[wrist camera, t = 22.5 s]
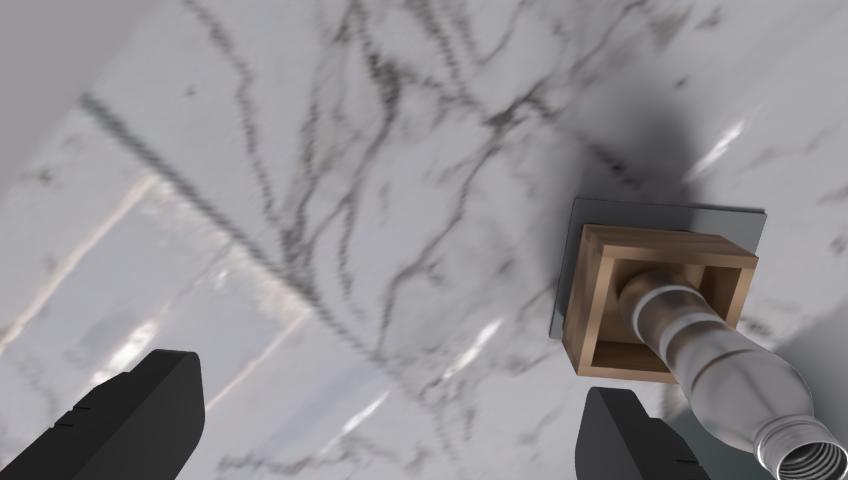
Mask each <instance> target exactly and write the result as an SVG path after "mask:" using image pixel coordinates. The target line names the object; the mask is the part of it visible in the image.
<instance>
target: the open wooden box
mask: <svg viewBox="0 0 848 480" xmlns="http://www.w3.org/2000/svg"><path fill="white" fill-rule="evenodd" d="M579 238H580V239H581V243H580V248H579V253H578V258H577V263H576V269H575V274H574V279H573V284H572V289H571V295H570V300H569V305H568V310H567V314H565V315H564V319H563V325H562V330H563V336H562V343H563V346H564V348H565V350H566V352H567V355H568V357H569V359H570V361H571V363H572V366H573V368H574V370H575V372H576V374H577V376H589V377H601V378H613V379H625V380H637V381H649V382H660V383H672V384H679V383H678V382H677V380H676V379H675V377H674V376H673V374H672V373H671V372H670V370H669V368H668V367H667V366H666V364H665V363H664V361H663V360H662V359H661V358H660V357H659V356H658V355H657V354H656V353H655V352H654V351H653V350H652V349H651V348H650V347H649V346H648V345H646V344H645V343H643V342H642V341H641V340H639V339H638V338H637V337H636V336H635V335H634V334H633V333H631V332H630V331H629V329H628V328H627V327H626V325H625V323H624V321H623V319H622V316H621V314H620V310H619V297H620V294H621V292H622V290H623V288H624V287H625V285H626V284H627V283H628V282H629V281H630V280H631V279H632V278H634V277H635V276H637V275H639V274H641V273H643V272H646V271H651V270H667V271H670V272H673V273H675V274H677V275H679V276H682V277H684V278H685V279H687V280H689V281H690V282H691V283H692V284H693V285H694V286H695V287H696V288H697V289H698V291H699V292H700V293H701V294H702V296H703V297H704V299H705V300H706V302H707V304H708V305H709V306H710V307H711V308H712V309H713V310H714V311H715V312H716V313H717V314H718V315H719V316H720V317H721V319H722V320H723V321H725V322H726V323H728V324H729V325H730V326H731V327H733V328H734V329H736V326H737V323H738V320H739V317H740V314H741V311H742V308H743V305H744V302H745V299H746V296H747V293H748V289H749V286H750V283H751V280H752V277H753V274H754V271H755V268H756V265H757V262H758V259H759V257H757V256H755V255H754V254H752V253H750V252H748V251H747V250H745V249H743V248H741V247H740V246H738V245H736V244H734V243H733V242H731V241H729V240H727V239H726V238H724V237H722V236H720V235H715V234H703V233H696V232H692V231H687V230H673V231H665V230H653V229H640V228H628V227H615V226H607V225H604V224H599V223H583V224H582V225H581V231H580V236H579Z"/></svg>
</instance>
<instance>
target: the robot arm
mask: <svg viewBox="0 0 848 480" xmlns="http://www.w3.org/2000/svg"><path fill="white" fill-rule="evenodd" d="M204 423H205V408H204V397H203V387H202V377H201V366H200V359H199V357H198V355H197V354H196V353H195V352H188V351H176V350H164V349H155V350H153V351H152V352H151V353H149V354H148V355H147V356H146V357H145V358H144V359H143V360H142V361H141V362H140V363H139V364H138V365H137V366H136V367H135V368H134V369H132V370H131V371H130V372H122V373H120V374H118V375H117V376H115V377H113V378H111V379H109V380H107V381H105V382H104V383H102V384H100V385H98V386H96V387H94V388H93V389H92V390H91V391H90V392H89V393H88V394H87V395H86V396H84V397H83V398H82V399H81V400H80V401H79V402H78V403H77V404H75V405H74V406H73V410H72V411H68V412H67V413H65V414H64V415H63V416H62V417H61V418H60V419H59V420H58V421H56V422H55V425H54V427H53V428H49V429H48V430H46V431H45V432H44V433H43V434H42V435H41V436H40V437H39V438H37V439H36V440H35V441H34V442H33V443H32V444H31V445H30V446H29V447H27V448H26V449H25V450H24V451H23V452H22V453H21V454H20V455H18V456H17V457H16V458H15V459H14V460H13V461H12V462H11V463H10V464H8V465H7V466H6V467H5V468H4V469H3V470H2V471H1V472H0V480H175V478H176V477H177V475H178V474H179V472H180V471H181V469H182V468H183V466H184V465H185V463H186V462H187V460H188V459H189V457H190V456H191V454H192V453H193V451H194V450H195V448H196V446H197V445H198V443H199V440H200V438H201V435H202V432H203V428H204ZM575 469H576V475H577V480H711V479H710V478H709V476H708V475H707V473H706V472H705V470H704V469H703V467H702V466H699V461H698V460H697V458H696V457H695V455H694V454H693V452H692V451H691V449H690V448H689V446H688V445H687V443H686V442H685V440H684V439H683V438H682V437H681V436H680V435H679V434H678V433H676V432H675V431H674V430H673V429H672V428H670V427H669V426H668V425H667V424H666V423H665V422H664V421H662V420H661V419H660V418H650V417H649V416H648V414H647V413H646V411H645V409H644V408H643V406H642V404H641V403H640V401H639V399H638V398H637V396H636V395H635V393H634V392H633V391H632V390H629V389H617V388H605V387H591V388H590V390H589V392H588V395H587V398H586V403H585V407H584V412H583V416H582V421H581V425H580V430H579V434H578V439H577V443H576V448H575Z"/></svg>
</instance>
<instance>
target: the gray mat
mask: <svg viewBox="0 0 848 480" xmlns="http://www.w3.org/2000/svg"><path fill="white" fill-rule="evenodd" d="M767 215H768V214H765V213H754V212H741V211H729V210H716V209H704V208H691V207H679V206H666V205H654V204H641V203H628V202H616V201H603V200H591V199H578V198H574V204H573V209H572V215H571V220H570V226H569V231H568V237H567V242H566V248H565V253H564V259H563V264H562V269H561V275H560V280H559V286H558V291H557V297H556V302H555V308H554V313H553V319H552V324H551V330H550V335H549V337H550V338H552V339H562V336H563V330H562V325H563V319H564V315H565V314H567V310H568V305H569V300H570V295H571V289H572V284H573V279H574V274H575V269H576V263H577V258H578V253H579V248H580V243H581V239H580V238H579V236H580V231H581V225H582V224H583V223H599V224H604V225H607V226H615V227H628V228H640V229H653V230H665V231H673V230H687V231H692V232H696V233H703V234H715V235H720V236H722V237H724V238H726V239H727V240H729V241H731V242H733V243H734V244H736V245H738V246H740V247H741V248H743V249H745V250H747V251H748V252H750V253H752V254H754V255H755V252H756V249H757V246H758V243H759V240H760V236H761V233H762V230H763V227H764V224H765V221H766V218H767Z"/></svg>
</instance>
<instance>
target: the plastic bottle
mask: <svg viewBox="0 0 848 480" xmlns="http://www.w3.org/2000/svg"><path fill="white" fill-rule="evenodd" d="M619 310H620V314H621V316H622V319H623V321H624V323H625V325H626V327H627V328H628V329H629V331H630V332H631V333H633V334H634V335H635V336H636V337H637V338H638V339H639V340H641V341H642V342H643V343H645V344H646V345H648V346H649V347H650V348H651V349H652V350H653V351H654V352H655V353H656V354H657V355H658V356H659V357H660V358H661V359H662V360H663V361H664V363H665V364H666V366H667V367H668V368H669V370H670V372H671V373H672V374H673V376H674V377H675V379H676V380H677V382H678V383H679V385H680V387H681V389H682V391H683V393H684V394H685V396H686V398H687V400H688V402H689V404H690V406H691V408H692V410H693V412H694V414H695V415H696V416H697V418H698V420H699V421H700V423H701V424H702V425H703V426H704V428H705V429H706V430H708V431H709V432H710V433H711V434H713V435H714V436H715V437H717V438H718V439H720V440H721V441H723V442H724V443H726V444H728V445H730V446H733V447H736V448H739V449H741V450H744V451H748V452H752V453H754V455H755V457H756V458H757V460H758V461H759V462H760V463H761V465H762V466H763V467H764V468H766V469H767V470H769V471H770V473H771V474H772V475H773V476H774V477H775V479H776V480H842V479H843V478H844V477H845V475H846V474H847V472H848V452H847V450H846V449H845V448H844V446H843V445H842V444H841V443H839V441H837V440H836V439H835V438H834V437H833V436H832V435H831V433H830V431H829V430H828V429H827V428H826V427H825V426H824V425H823V424H822V423H821V422H819V421H818V420H817V419H815V418H814V414H813V404H812V397H811V394H810V391H809V388H808V387H807V385H806V384H805V382H804V380H803V379H802V377H801V376H800V374H799V373H798V372H797V370H795V369H794V368H793V367H792V366H791V365H790V364H788V363H787V362H785V361H784V360H782V359H781V358H780V357H778V356H776V355H775V354H773V353H771V352H770V351H768V350H766V349H765V348H763V347H761V346H760V345H758V344H756V343H754V342H753V341H751V340H749V339H748V338H746V337H745V336H743V335H742V334H741V333H739V332H738V331H737V330H735V329H734V328H733V327H731V326H730V325H729V324H728V323H726V322H725V321H723V320H722V319H721V317H720V316H719V315H718V314H717V313H716V312H715V311H714V310H713V309H712V308H711V307H710V306H709V305H708V304H707V302H706V300H705V299H704V297H703V296H702V294H701V293H700V292H699V291H698V289H697V288H696V287H695V286H694V285H693V284H692V283H691V282H690V281H689V280H687V279H685V278H684V277H682V276H679V275H677V274H675V273H673V272H670V271H667V270H651V271H646V272H643V273H641V274H639V275H637V276H635V277H634V278H632V279H631V280H630V281H629V282H628V283H627V284H626V285H625V287H624V288H623V290H622V292H621V294H620V297H619Z"/></svg>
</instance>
